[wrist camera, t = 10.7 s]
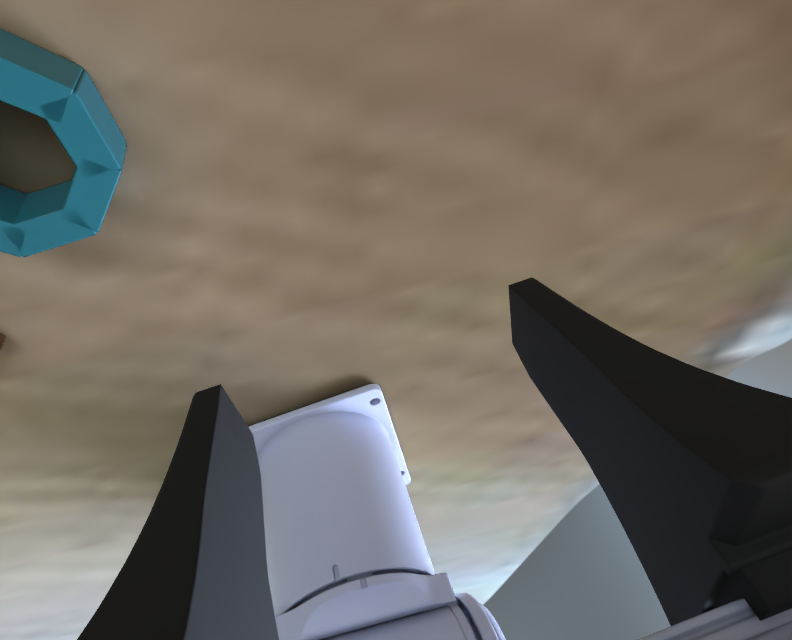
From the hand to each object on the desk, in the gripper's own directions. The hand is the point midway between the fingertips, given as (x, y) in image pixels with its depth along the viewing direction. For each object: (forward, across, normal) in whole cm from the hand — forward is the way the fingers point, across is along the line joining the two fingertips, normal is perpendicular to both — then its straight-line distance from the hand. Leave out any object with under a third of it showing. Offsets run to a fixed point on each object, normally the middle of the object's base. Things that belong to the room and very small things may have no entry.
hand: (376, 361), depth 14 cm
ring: (+9, +8, -5) cm, 13 cm away
